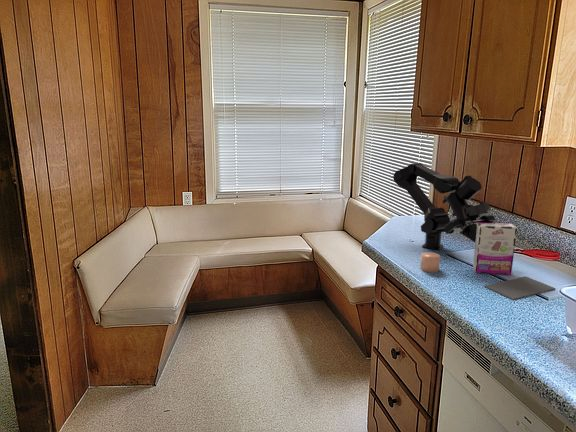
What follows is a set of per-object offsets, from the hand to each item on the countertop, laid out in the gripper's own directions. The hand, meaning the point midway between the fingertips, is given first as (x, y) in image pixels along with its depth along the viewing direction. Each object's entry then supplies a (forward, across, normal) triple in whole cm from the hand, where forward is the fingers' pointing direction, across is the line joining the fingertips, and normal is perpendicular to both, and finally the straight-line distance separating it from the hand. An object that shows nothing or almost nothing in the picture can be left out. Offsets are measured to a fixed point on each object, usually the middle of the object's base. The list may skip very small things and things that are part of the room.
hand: (481, 245), depth 142 cm
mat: (+18, -3, -7) cm, 20 cm away
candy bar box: (+9, 0, +2) cm, 9 cm away
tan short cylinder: (+2, -17, +9) cm, 20 cm away
